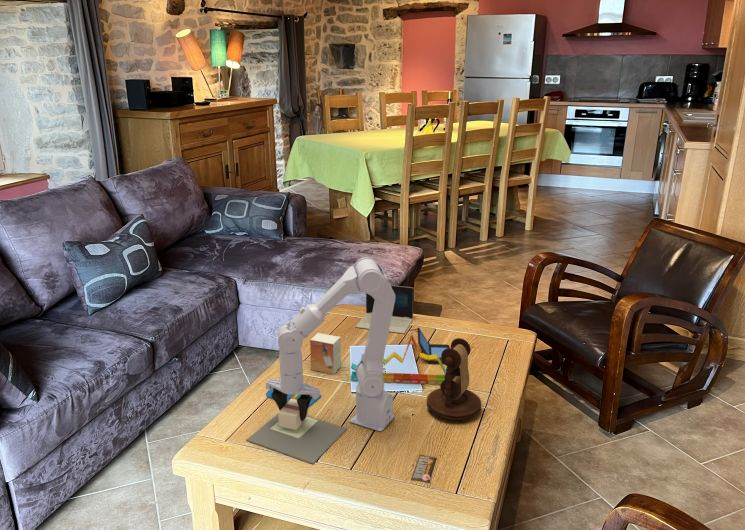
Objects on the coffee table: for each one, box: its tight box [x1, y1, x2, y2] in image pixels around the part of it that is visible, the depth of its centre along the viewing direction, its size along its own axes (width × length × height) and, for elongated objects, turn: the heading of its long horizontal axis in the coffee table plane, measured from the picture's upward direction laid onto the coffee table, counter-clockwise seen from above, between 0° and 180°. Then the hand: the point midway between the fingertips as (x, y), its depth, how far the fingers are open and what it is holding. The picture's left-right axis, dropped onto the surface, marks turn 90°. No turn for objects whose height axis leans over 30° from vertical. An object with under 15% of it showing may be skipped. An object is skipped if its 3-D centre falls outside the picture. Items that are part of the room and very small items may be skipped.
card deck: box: [277, 399, 309, 430], centre depth 158 cm, size 7×5×4 cm
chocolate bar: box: [409, 454, 438, 484], centre depth 143 cm, size 11×5×1 cm, turn 164°
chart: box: [350, 334, 447, 386], centre depth 179 cm, size 30×3×15 cm, turn 85°
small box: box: [309, 332, 342, 375], centre depth 187 cm, size 8×6×10 cm
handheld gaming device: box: [265, 388, 322, 409], centre depth 174 cm, size 8×1×15 cm
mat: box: [245, 413, 348, 465], centre depth 156 cm, size 20×16×1 cm
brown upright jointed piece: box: [426, 337, 482, 424], centre depth 164 cm, size 15×15×20 cm
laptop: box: [355, 284, 414, 335], centre depth 217 cm, size 18×12×13 cm
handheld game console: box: [417, 327, 451, 365], centre depth 196 cm, size 12×11×7 cm
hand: (293, 416), depth 159 cm, fingers closed on card deck, 5 cm apart
